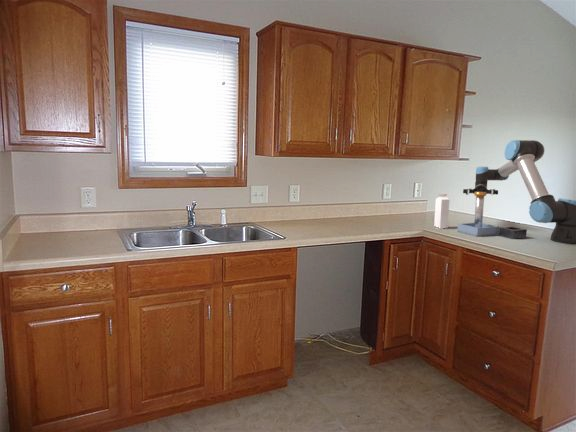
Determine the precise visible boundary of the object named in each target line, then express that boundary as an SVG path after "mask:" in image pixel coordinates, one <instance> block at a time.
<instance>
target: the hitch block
mask: <svg viewBox="0 0 576 432" xmlns="http://www.w3.org/2000/svg"><path fill="white" fill-rule="evenodd" d="M498 227H499V234H498V237H501V238H502V237H503V238H506V239H511V240H517V239H519V240H520V239H527V232H528V229H527V228H521V227H517V226H502V227H500V226H498Z"/></svg>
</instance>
